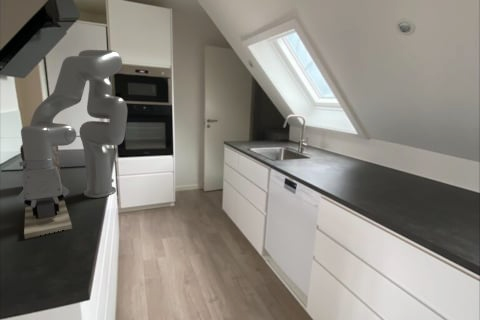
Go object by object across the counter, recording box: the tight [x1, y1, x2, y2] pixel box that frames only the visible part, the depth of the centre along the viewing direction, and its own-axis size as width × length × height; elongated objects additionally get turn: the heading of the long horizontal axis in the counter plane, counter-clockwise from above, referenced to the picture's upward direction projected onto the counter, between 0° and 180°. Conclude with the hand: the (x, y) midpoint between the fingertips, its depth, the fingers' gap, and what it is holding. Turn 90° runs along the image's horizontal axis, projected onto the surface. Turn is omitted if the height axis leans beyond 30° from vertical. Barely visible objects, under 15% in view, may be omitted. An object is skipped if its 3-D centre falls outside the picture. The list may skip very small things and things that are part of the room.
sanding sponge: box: [36, 197, 55, 221], centre depth 90 cm, size 8×4×5 cm, turn 37°
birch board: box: [23, 199, 73, 240], centre depth 92 cm, size 24×12×2 cm, turn 38°
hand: (46, 214), depth 91 cm, fingers closed on sanding sponge, 4 cm apart
